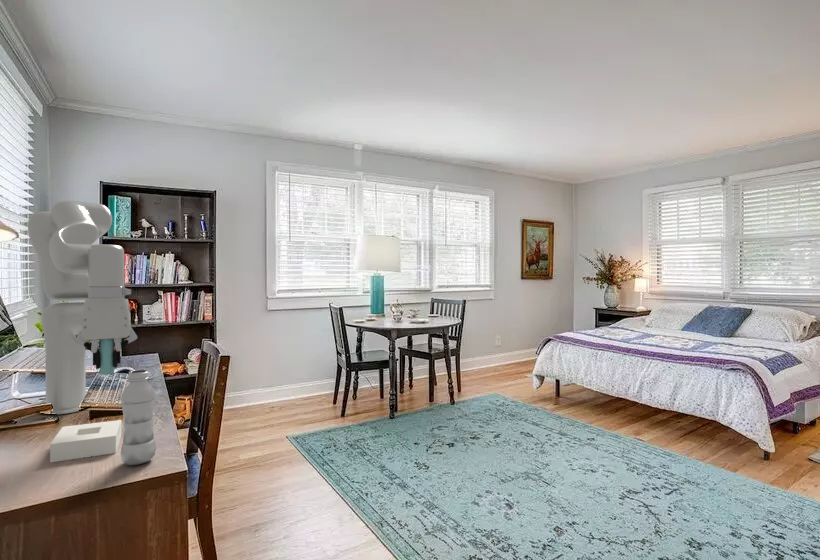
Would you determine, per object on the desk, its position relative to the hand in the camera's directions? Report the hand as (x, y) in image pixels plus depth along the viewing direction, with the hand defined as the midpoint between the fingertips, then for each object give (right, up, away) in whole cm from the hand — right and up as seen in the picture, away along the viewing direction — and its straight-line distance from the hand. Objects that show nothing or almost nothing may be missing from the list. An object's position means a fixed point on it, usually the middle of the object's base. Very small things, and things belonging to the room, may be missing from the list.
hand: (107, 366), depth 113 cm
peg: (0, -2, 0) cm, 2 cm away
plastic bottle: (+17, -18, -14) cm, 29 cm away
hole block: (0, -18, -7) cm, 19 cm away
